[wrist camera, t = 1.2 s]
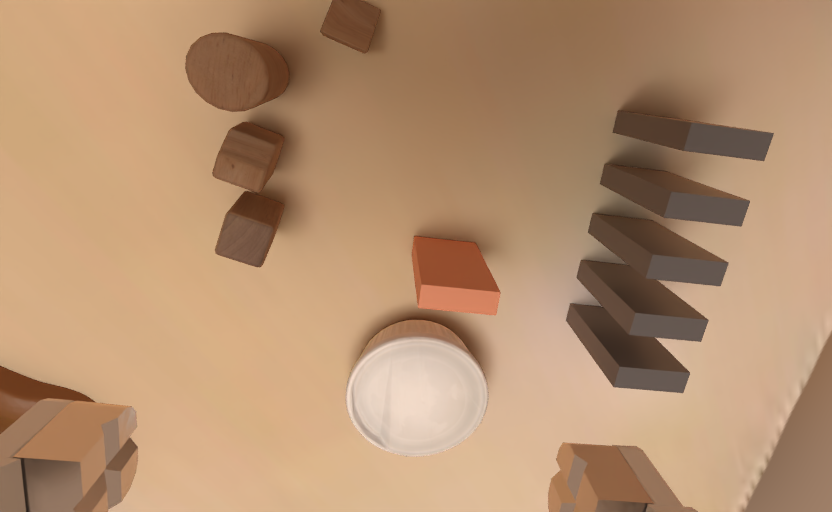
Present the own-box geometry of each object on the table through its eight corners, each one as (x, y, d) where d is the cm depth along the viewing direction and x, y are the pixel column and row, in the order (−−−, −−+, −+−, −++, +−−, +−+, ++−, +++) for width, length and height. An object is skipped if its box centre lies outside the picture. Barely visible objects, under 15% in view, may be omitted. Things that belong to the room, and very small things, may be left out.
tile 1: (618, 110, 38) (691, 122, 29) (680, 119, 39) (773, 133, 29) (612, 132, 39) (683, 150, 30) (674, 140, 39) (764, 161, 30)
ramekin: (326, 344, 44) (318, 379, 39) (440, 284, 43) (447, 312, 38) (390, 436, 47) (390, 479, 43) (498, 383, 46) (511, 421, 41)
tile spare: (414, 236, 41) (421, 284, 32) (475, 242, 41) (500, 292, 32) (411, 254, 42) (418, 307, 32) (472, 261, 42) (495, 315, 33)
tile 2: (604, 163, 40) (671, 191, 30) (665, 171, 40) (750, 201, 31) (599, 183, 40) (663, 217, 31) (660, 191, 41) (741, 226, 31)
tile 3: (592, 213, 41) (652, 254, 32) (651, 220, 41) (728, 262, 32) (587, 232, 42) (645, 278, 32) (646, 238, 42) (720, 286, 33)
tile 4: (581, 259, 42) (635, 312, 33) (638, 265, 43) (708, 320, 33) (576, 277, 43) (629, 334, 33) (633, 283, 43) (700, 341, 34)
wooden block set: (298, 241, 41) (283, 294, 31) (186, 204, 39) (134, 249, 29) (379, 12, 36) (391, -8, 26) (257, -45, 34) (222, -89, 24)
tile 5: (570, 303, 44) (619, 366, 34) (626, 309, 44) (690, 372, 35) (566, 320, 44) (613, 387, 35) (621, 325, 45) (683, 392, 35)
